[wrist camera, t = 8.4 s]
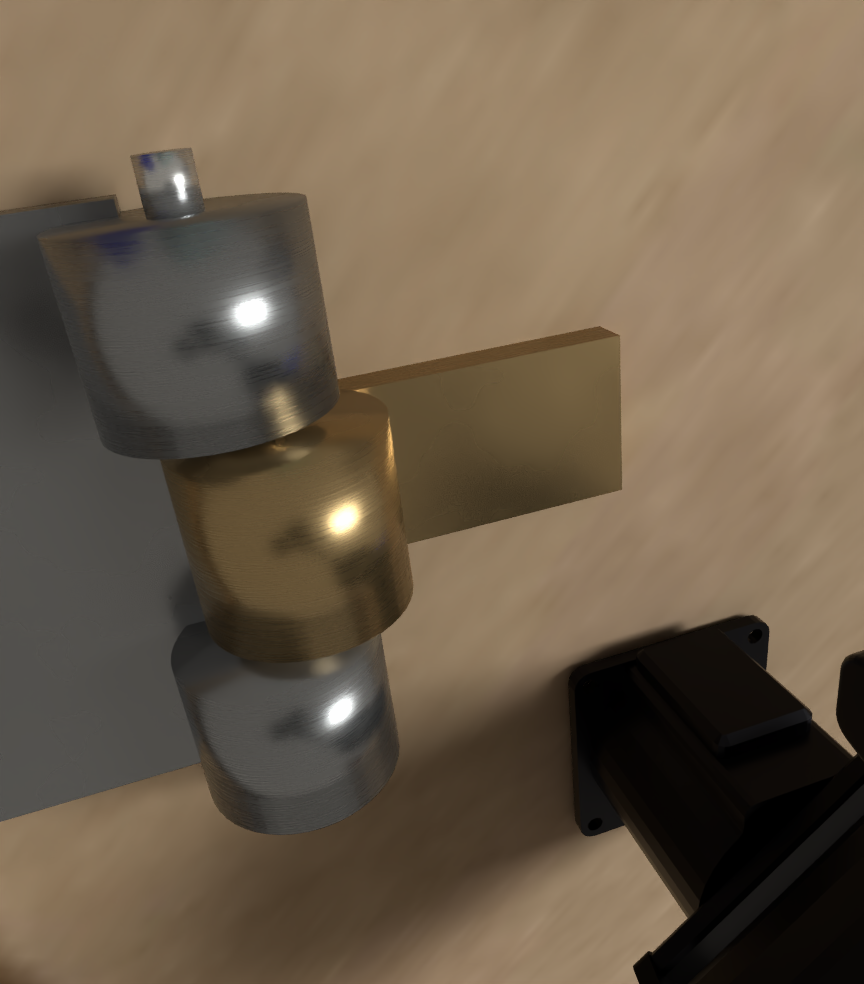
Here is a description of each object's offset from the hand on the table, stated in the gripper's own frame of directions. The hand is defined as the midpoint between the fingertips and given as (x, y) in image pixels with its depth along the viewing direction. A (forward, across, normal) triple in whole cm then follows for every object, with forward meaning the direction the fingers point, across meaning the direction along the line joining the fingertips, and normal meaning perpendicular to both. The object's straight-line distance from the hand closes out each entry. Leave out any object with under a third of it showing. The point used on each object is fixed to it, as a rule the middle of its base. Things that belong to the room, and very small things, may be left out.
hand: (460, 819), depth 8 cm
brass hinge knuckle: (+12, -3, +1) cm, 12 cm away
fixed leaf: (+12, +4, +1) cm, 13 cm away
